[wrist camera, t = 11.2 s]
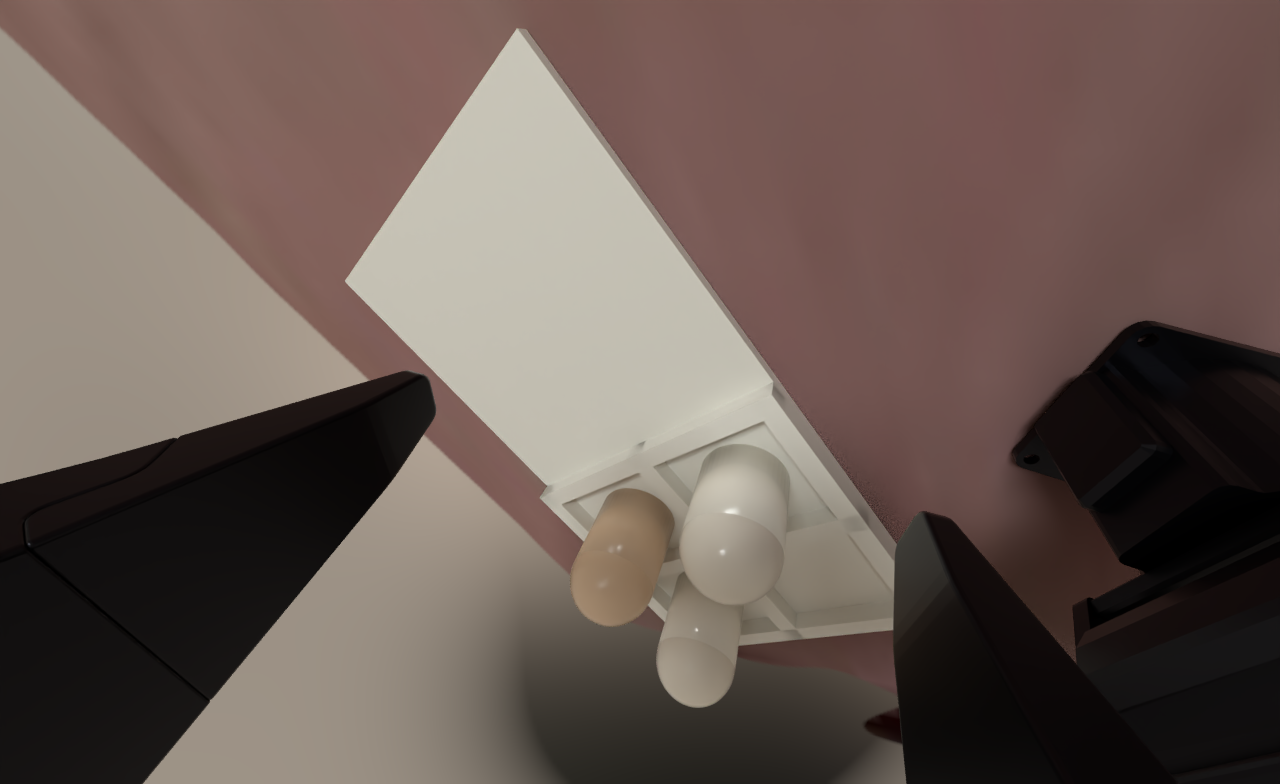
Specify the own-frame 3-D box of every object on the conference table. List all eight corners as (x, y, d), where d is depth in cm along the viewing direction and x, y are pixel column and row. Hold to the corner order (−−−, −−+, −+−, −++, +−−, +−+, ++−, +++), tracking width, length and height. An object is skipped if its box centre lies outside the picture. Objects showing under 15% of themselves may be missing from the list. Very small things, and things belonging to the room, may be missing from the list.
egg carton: (934, 596, 24) (940, 625, 23) (697, 628, 33) (693, 650, 32) (526, 29, 16) (500, 26, 15) (354, 277, 25) (328, 288, 23)
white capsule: (754, 586, 28) (739, 704, 23) (733, 620, 30) (716, 733, 25) (684, 559, 28) (654, 668, 23) (670, 595, 31) (640, 700, 26)
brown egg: (682, 505, 26) (647, 614, 21) (666, 549, 28) (632, 656, 23) (609, 478, 26) (557, 577, 21) (600, 524, 29) (552, 622, 24)
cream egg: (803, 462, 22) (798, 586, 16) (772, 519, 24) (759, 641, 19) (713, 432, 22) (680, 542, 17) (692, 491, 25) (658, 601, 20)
